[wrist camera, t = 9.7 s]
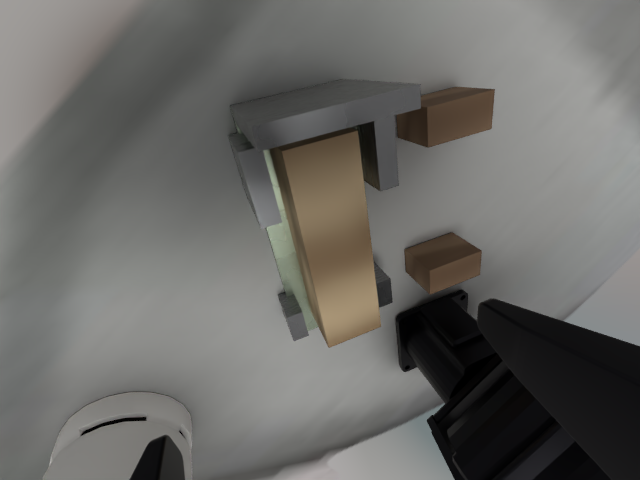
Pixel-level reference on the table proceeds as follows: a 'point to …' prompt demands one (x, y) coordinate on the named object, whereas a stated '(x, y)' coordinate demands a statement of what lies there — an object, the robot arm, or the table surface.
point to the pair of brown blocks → (429, 130)
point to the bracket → (306, 122)
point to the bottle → (118, 437)
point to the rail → (330, 231)
